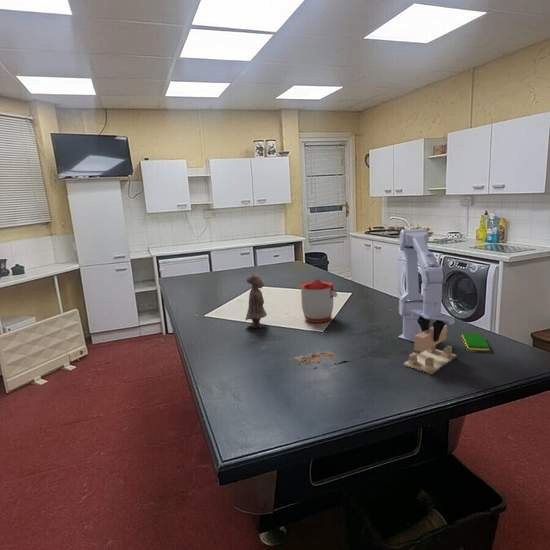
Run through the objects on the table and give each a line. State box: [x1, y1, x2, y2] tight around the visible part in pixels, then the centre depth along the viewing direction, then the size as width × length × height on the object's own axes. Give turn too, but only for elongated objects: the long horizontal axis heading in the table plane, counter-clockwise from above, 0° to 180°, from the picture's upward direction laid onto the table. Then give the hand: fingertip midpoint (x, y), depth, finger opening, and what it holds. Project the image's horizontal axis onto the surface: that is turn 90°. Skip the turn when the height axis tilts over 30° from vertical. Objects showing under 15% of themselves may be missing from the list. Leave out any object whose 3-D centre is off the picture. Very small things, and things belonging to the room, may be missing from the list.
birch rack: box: [403, 344, 457, 375], centre depth 135 cm, size 18×10×4 cm, turn 132°
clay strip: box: [413, 324, 448, 353], centre depth 134 cm, size 16×3×5 cm, turn 129°
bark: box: [288, 350, 347, 365], centre depth 141 cm, size 22×12×1 cm, turn 111°
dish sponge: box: [461, 332, 491, 350], centre depth 148 cm, size 7×14×2 cm, turn 164°
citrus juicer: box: [299, 278, 338, 323], centre depth 184 cm, size 16×17×20 cm
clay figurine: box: [245, 273, 268, 329], centre depth 178 cm, size 13×10×25 cm
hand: (431, 339), depth 134 cm, fingers closed on clay strip, 3 cm apart
